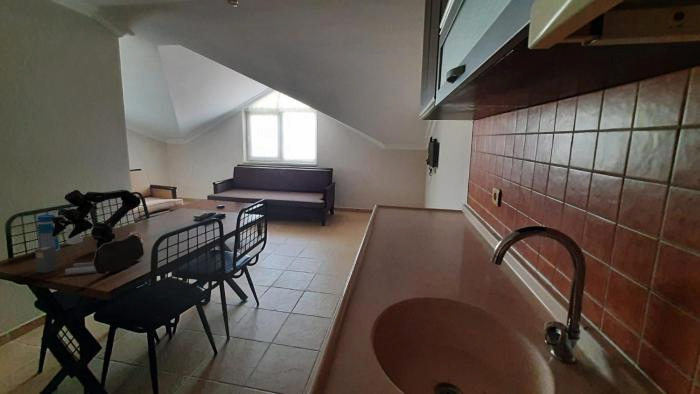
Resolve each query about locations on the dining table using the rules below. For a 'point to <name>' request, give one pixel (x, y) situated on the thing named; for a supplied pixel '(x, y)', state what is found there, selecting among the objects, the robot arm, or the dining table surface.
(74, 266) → the din rail
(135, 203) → the robot arm
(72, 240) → the white angled block
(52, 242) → the beverage bottle
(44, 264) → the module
